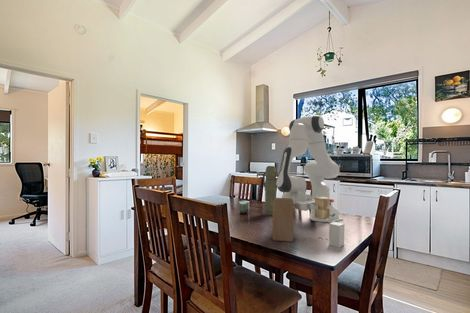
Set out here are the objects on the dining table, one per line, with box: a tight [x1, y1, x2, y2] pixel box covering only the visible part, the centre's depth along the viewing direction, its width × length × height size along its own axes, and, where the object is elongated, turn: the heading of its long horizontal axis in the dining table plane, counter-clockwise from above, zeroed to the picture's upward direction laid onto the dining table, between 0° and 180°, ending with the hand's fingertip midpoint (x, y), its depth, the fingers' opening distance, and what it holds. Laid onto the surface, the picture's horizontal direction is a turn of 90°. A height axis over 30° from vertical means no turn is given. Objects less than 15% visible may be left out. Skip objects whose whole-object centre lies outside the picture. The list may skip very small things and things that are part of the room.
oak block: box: [315, 197, 330, 219], centre depth 127 cm, size 5×5×10 cm
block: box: [272, 197, 294, 243], centre depth 129 cm, size 10×10×20 cm
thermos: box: [262, 165, 279, 217], centre depth 184 cm, size 9×12×35 cm
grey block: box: [328, 221, 345, 248], centre depth 121 cm, size 5×5×10 cm
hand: (323, 206), depth 126 cm, fingers closed on oak block, 5 cm apart
